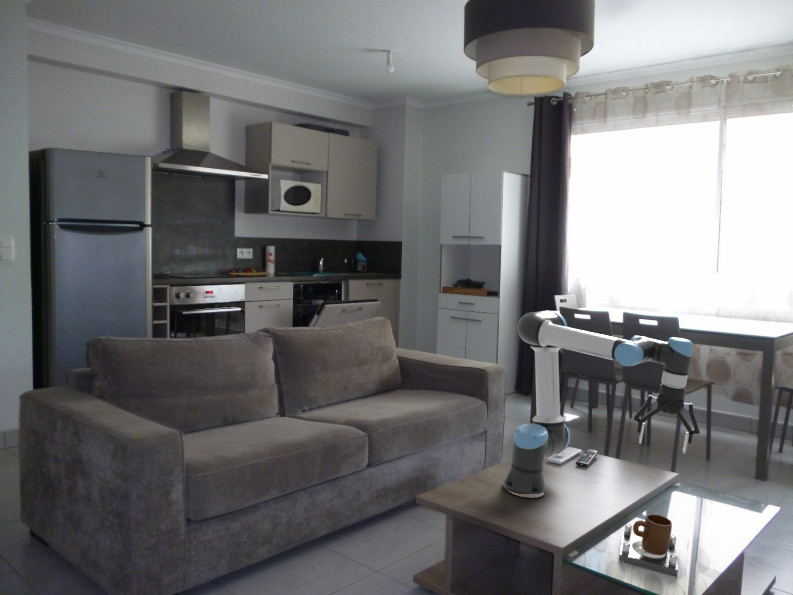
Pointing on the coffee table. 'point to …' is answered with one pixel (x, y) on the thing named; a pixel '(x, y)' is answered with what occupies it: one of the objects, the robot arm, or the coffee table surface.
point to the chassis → (647, 554)
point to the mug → (654, 533)
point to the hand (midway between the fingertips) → (661, 447)
